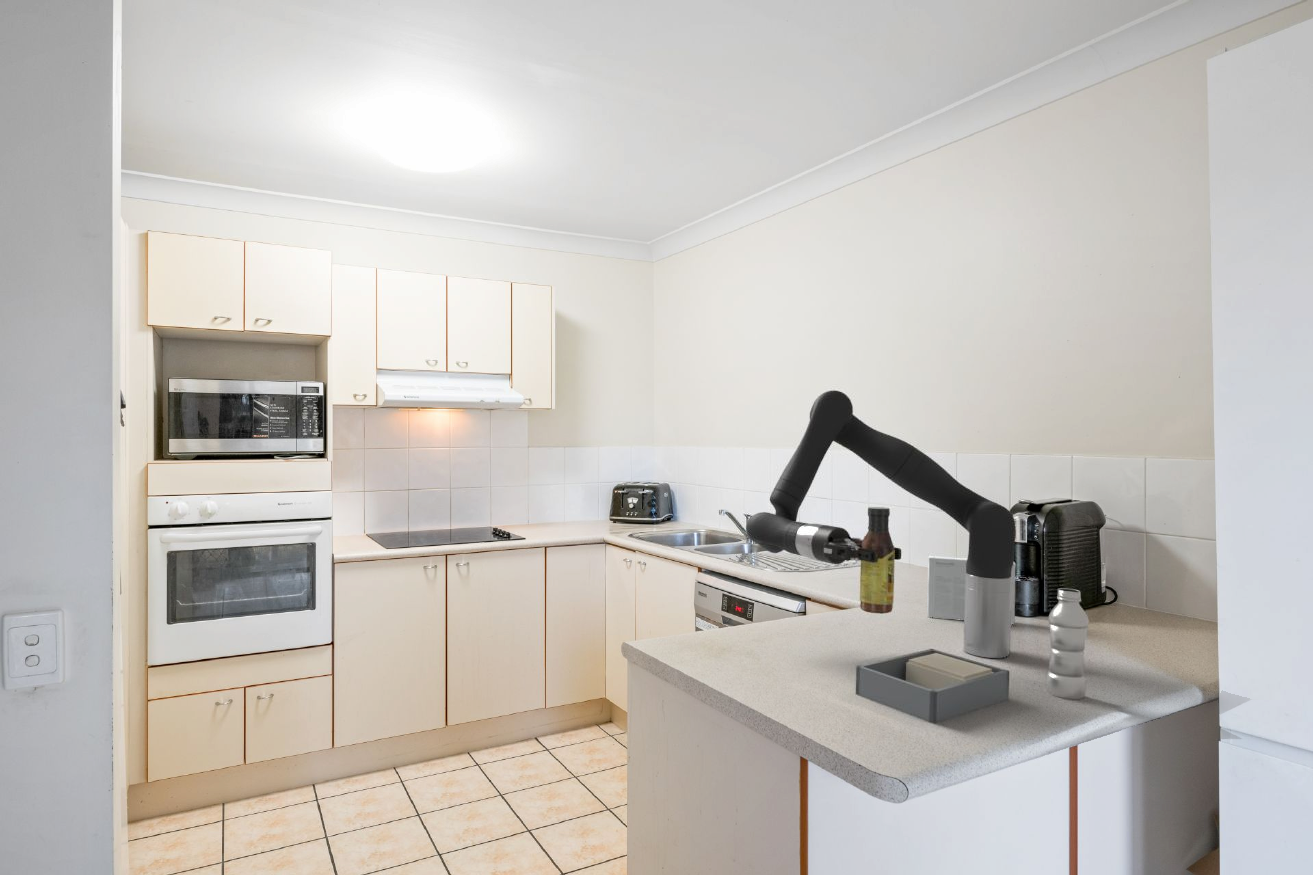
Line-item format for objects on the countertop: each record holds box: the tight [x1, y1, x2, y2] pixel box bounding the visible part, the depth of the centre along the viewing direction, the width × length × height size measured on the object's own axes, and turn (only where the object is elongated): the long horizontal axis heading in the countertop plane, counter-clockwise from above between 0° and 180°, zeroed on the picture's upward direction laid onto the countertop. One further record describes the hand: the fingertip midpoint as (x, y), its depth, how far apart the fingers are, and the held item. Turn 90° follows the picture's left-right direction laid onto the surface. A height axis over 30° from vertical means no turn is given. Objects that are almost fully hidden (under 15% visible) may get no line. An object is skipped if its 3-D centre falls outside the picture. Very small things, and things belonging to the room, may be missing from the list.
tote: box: [855, 648, 1010, 725], centre depth 137 cm, size 22×16×6 cm
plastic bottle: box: [1045, 587, 1090, 700], centre depth 140 cm, size 6×7×20 cm
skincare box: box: [927, 555, 1017, 624], centre depth 200 cm, size 21×5×16 cm, turn 71°
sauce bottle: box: [859, 506, 895, 614], centre depth 147 cm, size 7×6×20 cm
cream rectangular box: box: [906, 653, 994, 690], centre depth 140 cm, size 9×12×5 cm
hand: (888, 555), depth 145 cm, fingers closed on sauce bottle, 6 cm apart
